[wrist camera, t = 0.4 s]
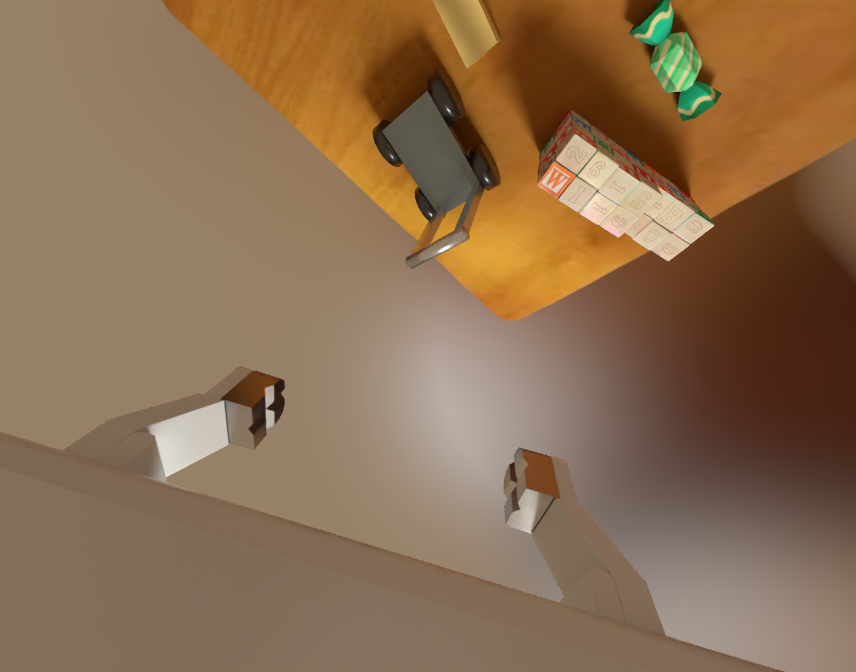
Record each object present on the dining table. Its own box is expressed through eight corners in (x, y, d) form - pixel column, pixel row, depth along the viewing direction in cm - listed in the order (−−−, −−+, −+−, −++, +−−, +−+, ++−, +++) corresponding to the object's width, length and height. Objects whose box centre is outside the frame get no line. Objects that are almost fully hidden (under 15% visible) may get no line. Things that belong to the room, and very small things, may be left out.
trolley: (502, 175, 51) (484, 241, 37) (441, 212, 57) (406, 280, 43) (444, 65, 43) (393, 95, 29) (381, 122, 50) (316, 169, 36)
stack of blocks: (692, 195, 46) (725, 238, 38) (652, 230, 51) (672, 276, 42) (569, 107, 43) (575, 132, 35) (537, 153, 48) (535, 185, 39)
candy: (725, 86, 38) (711, 110, 37) (691, 105, 41) (678, 127, 40) (672, -13, 34) (655, 12, 33) (640, 16, 37) (624, 39, 36)
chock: (466, -40, 37) (458, -45, 33) (501, 38, 40) (497, 41, 37) (438, -9, 39) (427, -10, 35) (473, 63, 43) (466, 68, 39)
